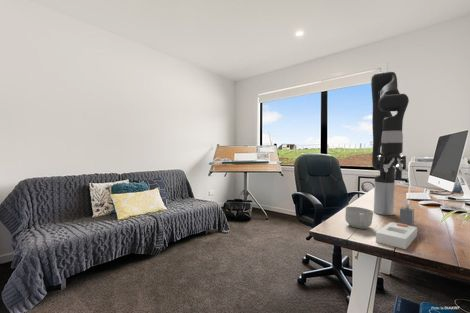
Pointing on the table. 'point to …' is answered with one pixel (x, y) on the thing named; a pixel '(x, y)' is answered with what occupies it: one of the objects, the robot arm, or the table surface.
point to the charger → (407, 216)
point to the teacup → (359, 217)
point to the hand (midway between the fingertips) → (390, 180)
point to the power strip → (396, 235)
